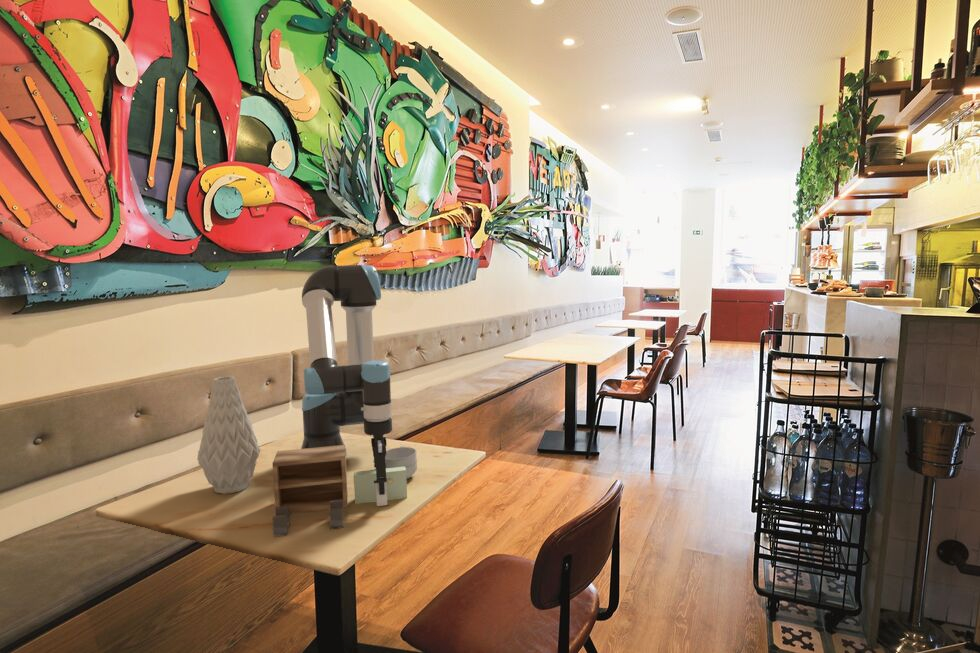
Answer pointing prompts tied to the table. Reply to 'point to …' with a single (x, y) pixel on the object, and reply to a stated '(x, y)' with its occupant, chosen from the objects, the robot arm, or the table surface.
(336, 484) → the wooden shelf unit
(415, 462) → the teacup
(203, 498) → the table surface
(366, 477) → the door
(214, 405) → the vase
